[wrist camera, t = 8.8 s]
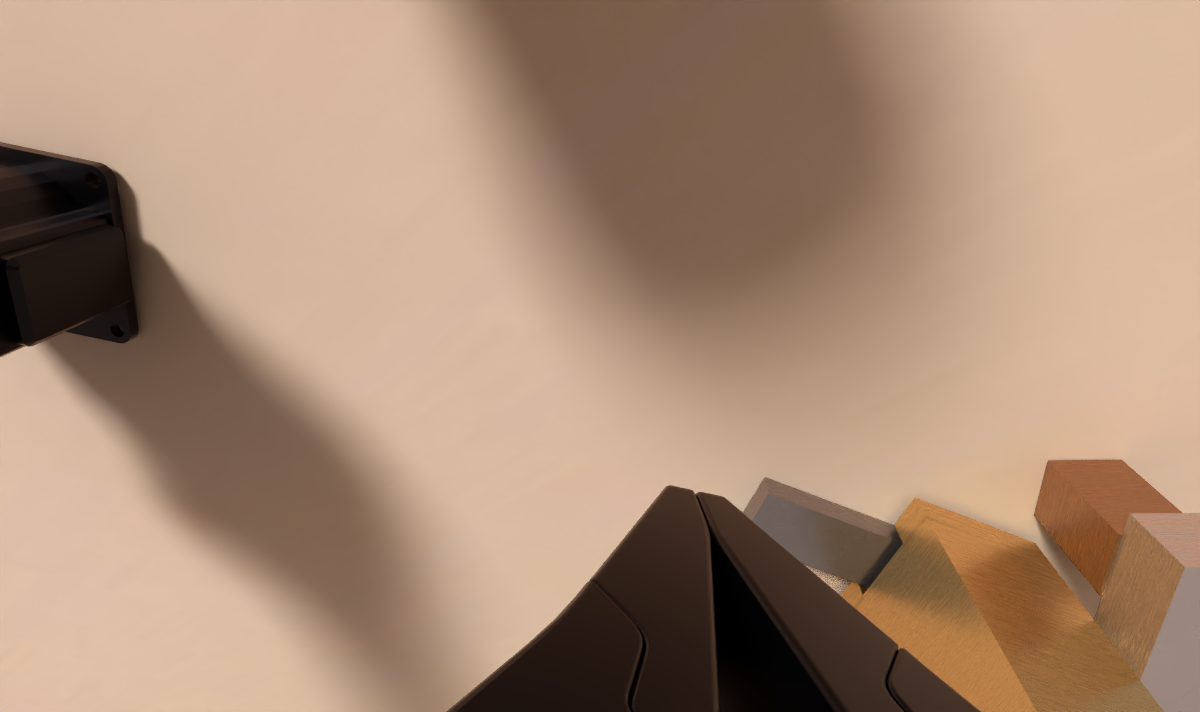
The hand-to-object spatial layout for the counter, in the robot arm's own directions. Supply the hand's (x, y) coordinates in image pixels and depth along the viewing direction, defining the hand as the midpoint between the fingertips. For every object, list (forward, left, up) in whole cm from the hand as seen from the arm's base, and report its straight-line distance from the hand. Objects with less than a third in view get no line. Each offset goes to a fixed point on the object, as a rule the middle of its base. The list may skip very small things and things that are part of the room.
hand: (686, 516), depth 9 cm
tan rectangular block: (+13, -10, -13) cm, 21 cm away
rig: (+12, -7, -13) cm, 19 cm away
